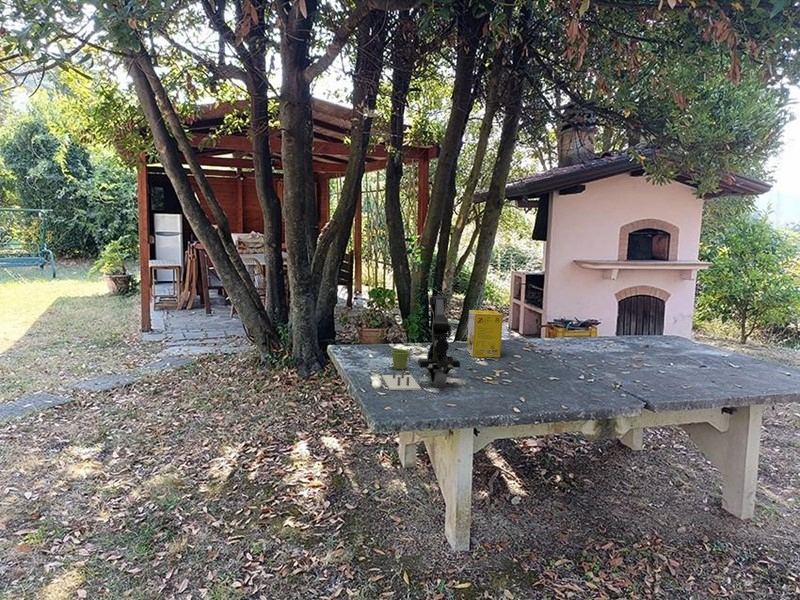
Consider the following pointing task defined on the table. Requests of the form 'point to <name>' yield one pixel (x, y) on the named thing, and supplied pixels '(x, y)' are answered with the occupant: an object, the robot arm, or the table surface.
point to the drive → (439, 378)
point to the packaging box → (484, 333)
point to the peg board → (400, 382)
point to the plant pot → (400, 358)
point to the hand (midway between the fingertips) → (437, 381)
